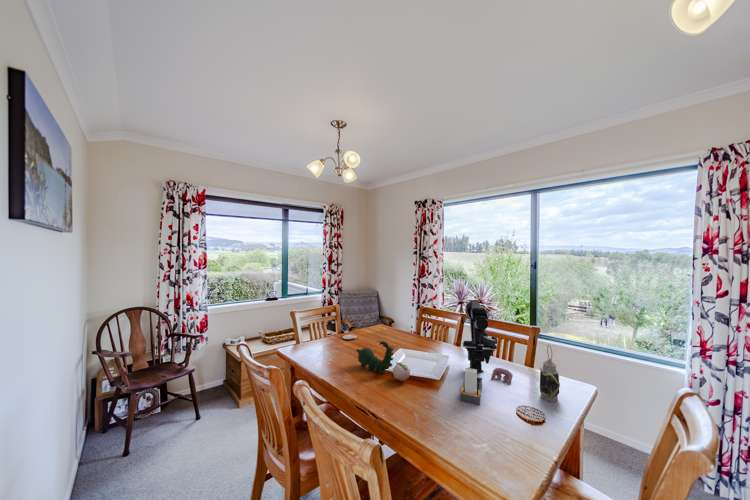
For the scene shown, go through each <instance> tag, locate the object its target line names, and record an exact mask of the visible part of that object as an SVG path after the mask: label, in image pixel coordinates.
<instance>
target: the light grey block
mask: <svg viewBox="0 0 750 500" xmlns="http://www.w3.org/2000/svg"><path fill="white" fill-rule="evenodd" d="M464 377H465V393H469V394H474V395H477V377H478V373H477V369H471V368H470V367H465V370H464Z"/></svg>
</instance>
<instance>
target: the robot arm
mask: <svg viewBox="0 0 750 500" xmlns="http://www.w3.org/2000/svg"><path fill="white" fill-rule="evenodd" d="M488 312H489V311H487V309H486V308H485V306H481V304H480V302H479V300H477V299H471V300H469V302H467V304H465V313H466V317H467V318H468V320H469V326H470V327H469V328H470V340H464V341H463V342H462V344H463V345H462V346H463V347H464V348H465V349H466V351H467V360H468V361H469V368H471V369H477V374H479V373H484V372H485V371H484V370H483V369H482V363H484V362H485V364H489V362H490V360H491V356H492V353H493V352H495V351H496V350H497V349H498V346H497V345H498V342H499V341H498V338H497V337H495V336H492V337H489V335H488V333H487V332H486V329H487V328H489V323H488V320H489V319H490V316H489V313H488Z"/></svg>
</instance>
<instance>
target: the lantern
mask: <svg viewBox="0 0 750 500" xmlns="http://www.w3.org/2000/svg"><path fill="white" fill-rule="evenodd" d="M549 347H550V351H551V354H553V349H552V347H551V345H550V344H547V351H546V353H547V354H549ZM547 358H548V359H547V360H545V361H543V362H542V365H543V366H541V367H540V368H539V370H540V372H539V374H540V375H539V391H540V397H541V398H542V399H543V400H545V401H547V402H552V403H553V402H554V403H555V402H558V401H559V400H558V397H559V396H558V395H559V394H560V387H561V382H560V375H559V371H558V370H557V364H556V363H554V362H553V361H552V359H553V355H551V357H550V356H549V355H547Z"/></svg>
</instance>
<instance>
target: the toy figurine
mask: <svg viewBox="0 0 750 500" xmlns="http://www.w3.org/2000/svg"><path fill="white" fill-rule="evenodd" d="M379 345H380V346H381V345H382V346H383V347H384V348H385V353H384V356H383V359H381V358H380V359H379V358H378V356H376V355H375V353H374V351H373V350H372V349H371V348H369V347H364V348H361V349H357V348H356V349H355V351H356V353H357V359H358V360H357V361H358V363H360V366H361V367H362V368H366V367H367V369H368V370H369V371H372V369H374V373H378V372H381V373H385V371H387V370H386V369H388V370H389V368H390V367H393V363H391V361H393V360H394V358H393V357H392V356H393V355H394V352H393V351H394V348H392V347H391V346H389V343H388V342H386V341H385V340H383V341H380V342H379Z"/></svg>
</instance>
